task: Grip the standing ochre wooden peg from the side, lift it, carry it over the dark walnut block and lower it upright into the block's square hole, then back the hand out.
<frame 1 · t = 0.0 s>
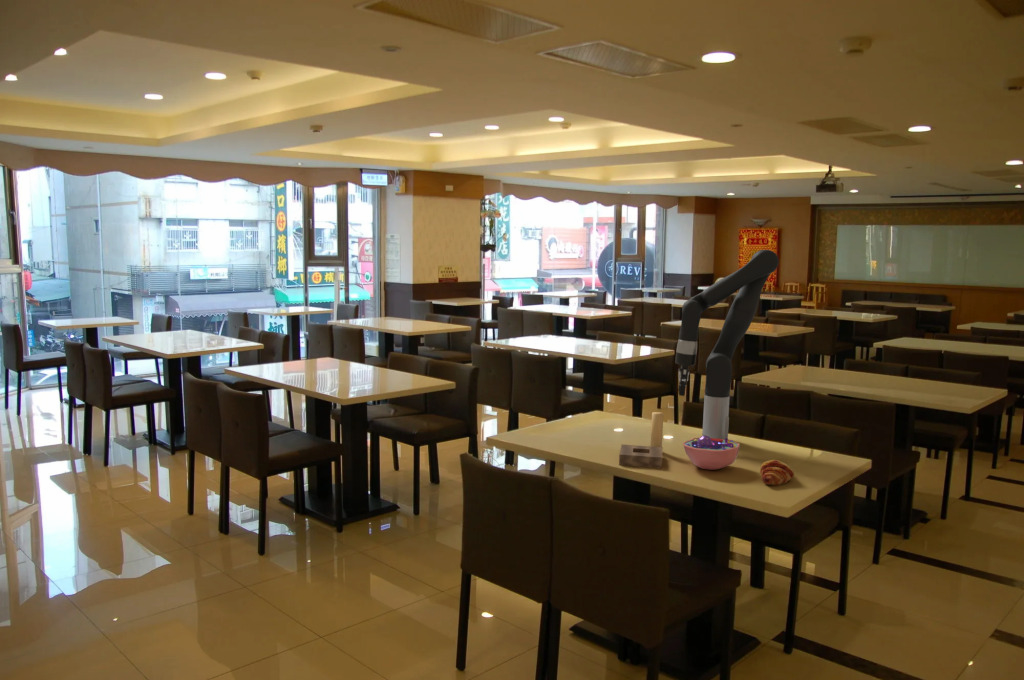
hand: (681, 393, 293), 17 cm above the table, tool pointing down, fingers open, 8 cm apart
croissant: (776, 480, 242), on the table
peg: (655, 451, 272), on the table
cell model: (710, 468, 253), on the table
hole block: (640, 460, 259), on the table
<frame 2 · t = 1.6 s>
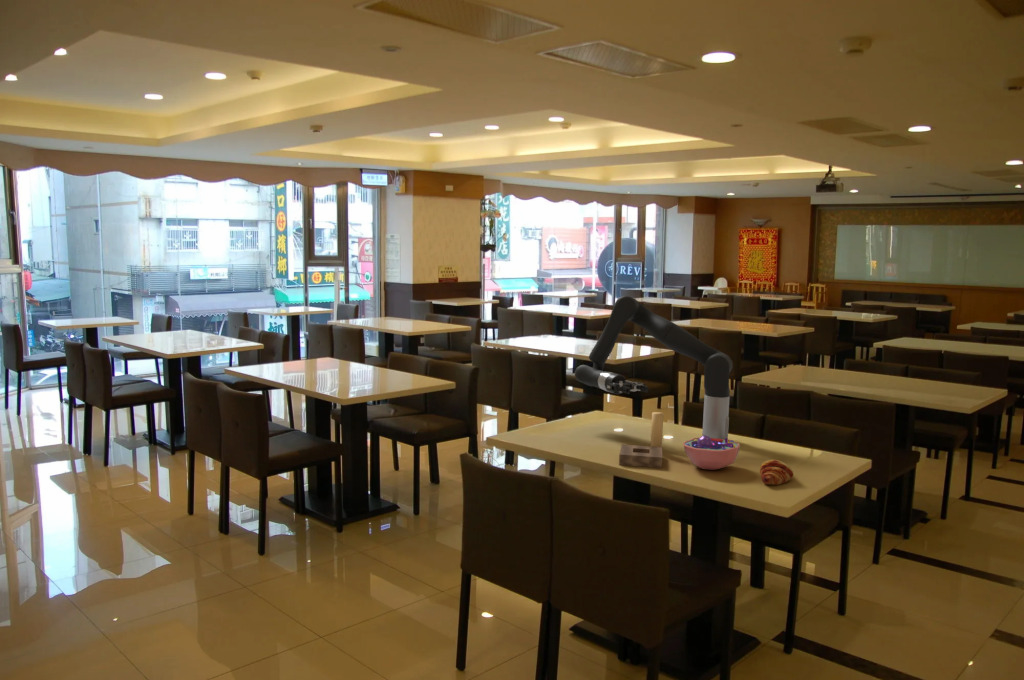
hand: (638, 390, 280), 20 cm above the table, tool horizontal, fingers open, 8 cm apart
nothing on the table moved.
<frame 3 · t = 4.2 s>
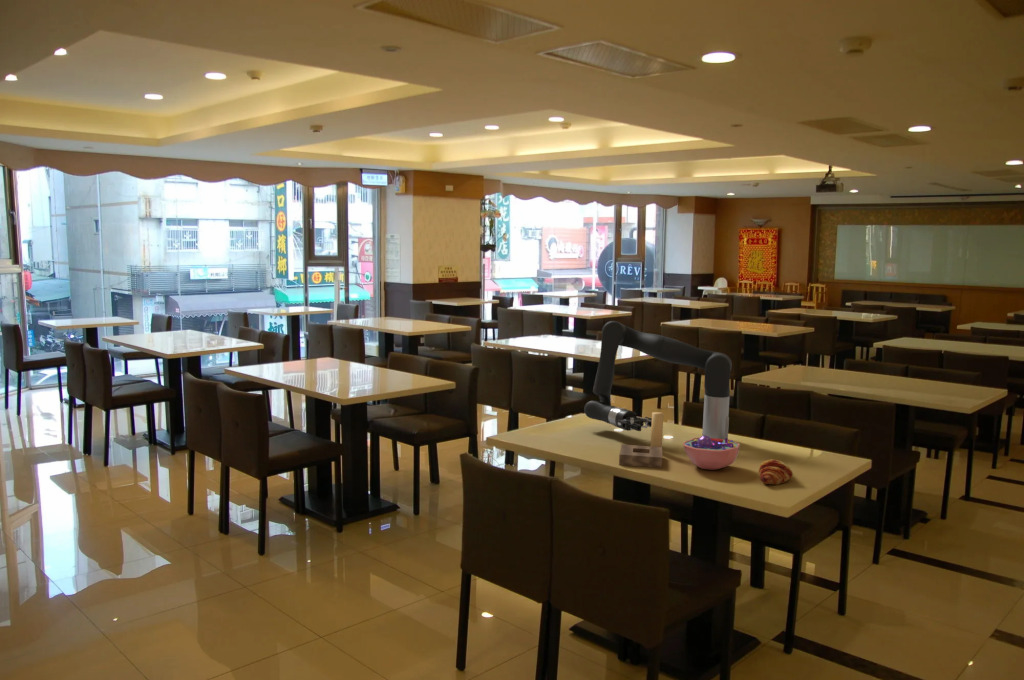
hand: (650, 427, 275), 8 cm above the table, tool horizontal, fingers open, 8 cm apart
nothing on the table moved.
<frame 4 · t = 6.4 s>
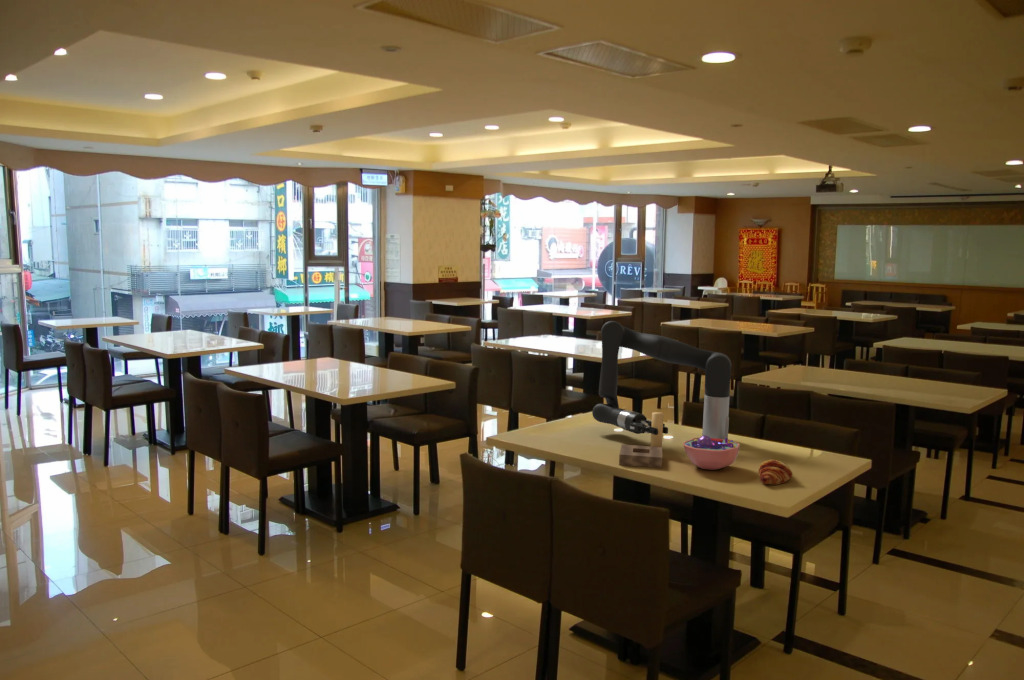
hand: (662, 431, 269), 8 cm above the table, tool horizontal, fingers closed on peg, 4 cm apart
peg: (656, 451, 272), on the table, touching gripper
everything else where it was.
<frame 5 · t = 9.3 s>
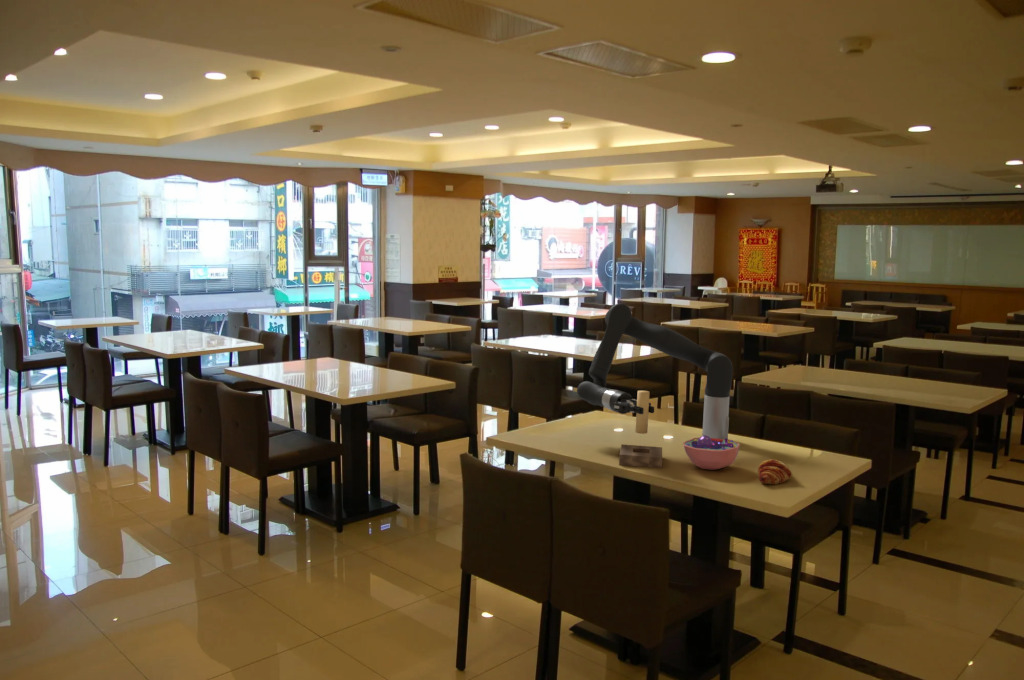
hand: (647, 410, 255), 18 cm above the table, tool horizontal, fingers closed on peg, 4 cm apart
peg: (641, 432, 259), point 10 cm above the table, touching gripper
everything else where it was.
when the fingers open (9 cm above the table, at t = 12.3 s): peg drops 1 cm, resting in hole block.
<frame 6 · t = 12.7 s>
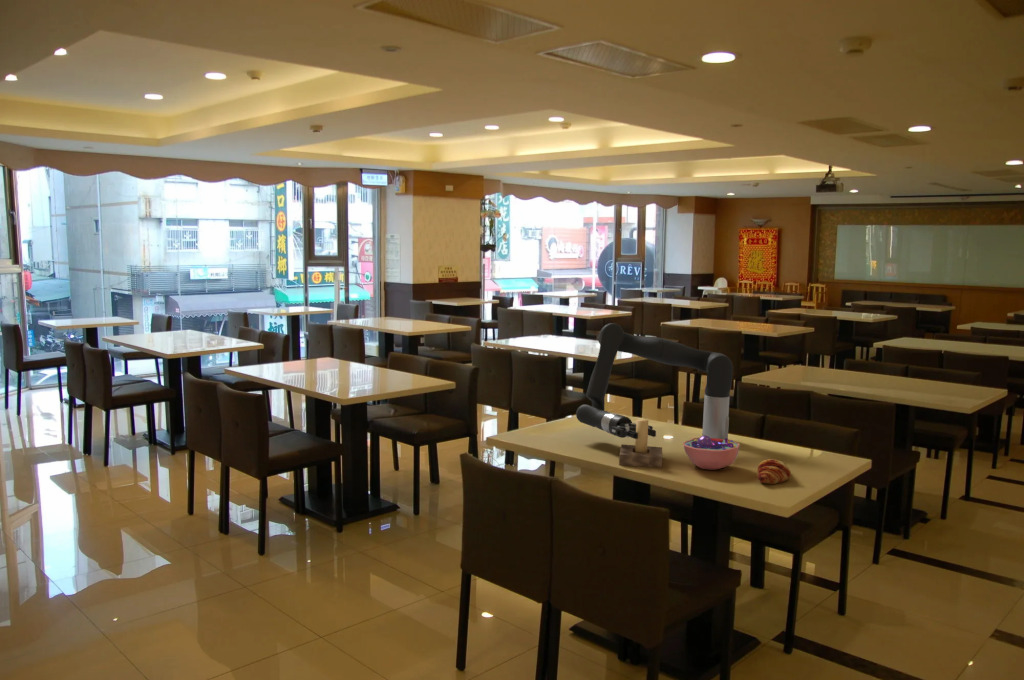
hand: (646, 434, 257), 10 cm above the table, tool horizontal, fingers open, 7 cm apart
peg: (640, 460, 260), resting in hole block
everything else where it was.
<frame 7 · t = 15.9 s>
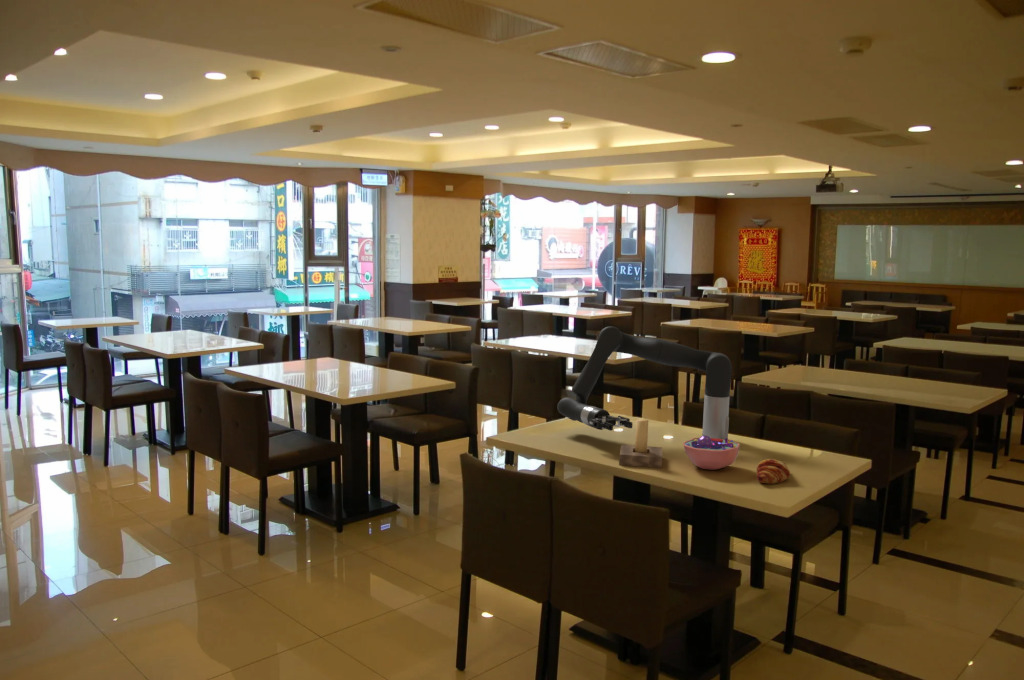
hand: (621, 426, 268), 10 cm above the table, tool horizontal, fingers open, 8 cm apart
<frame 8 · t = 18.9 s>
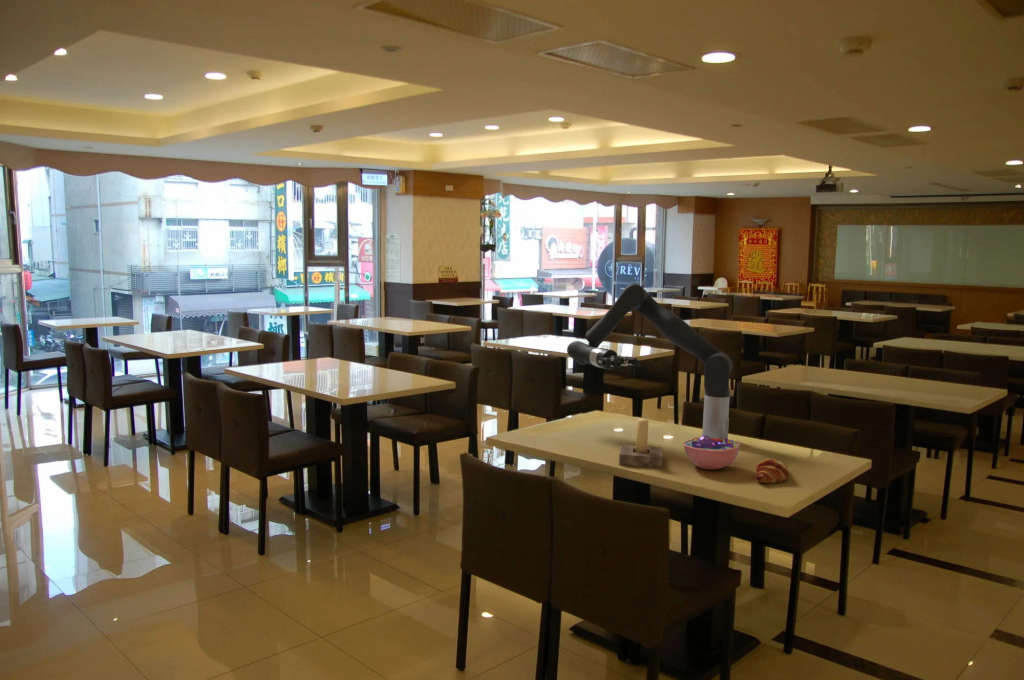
hand: (629, 364, 278), 30 cm above the table, tool horizontal, fingers open, 8 cm apart
at the end: peg 0.1 cm off-centre on the hole block, point 0.0 cm above the hole block's base; peg tilted 0°; the gripper is holding nothing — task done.
